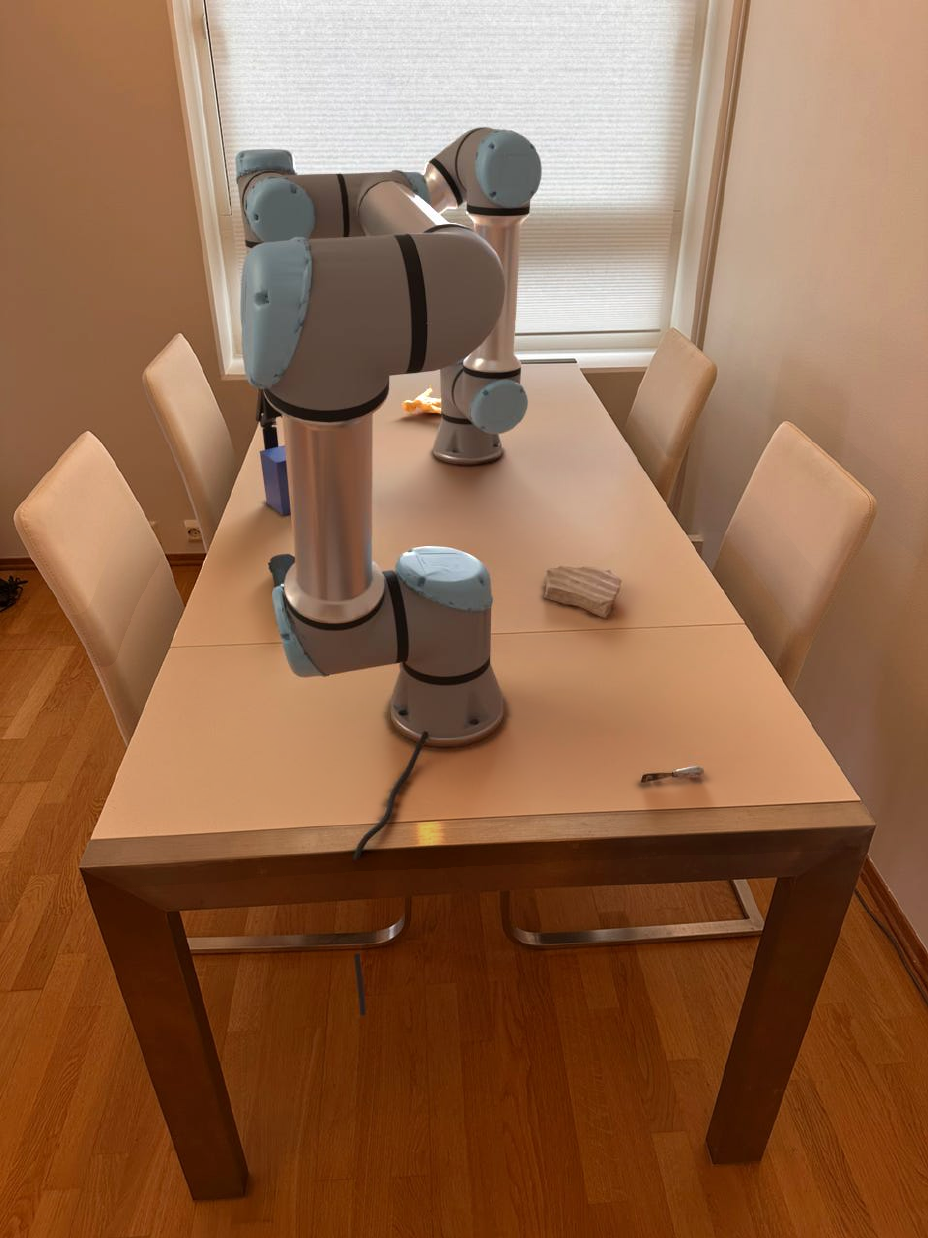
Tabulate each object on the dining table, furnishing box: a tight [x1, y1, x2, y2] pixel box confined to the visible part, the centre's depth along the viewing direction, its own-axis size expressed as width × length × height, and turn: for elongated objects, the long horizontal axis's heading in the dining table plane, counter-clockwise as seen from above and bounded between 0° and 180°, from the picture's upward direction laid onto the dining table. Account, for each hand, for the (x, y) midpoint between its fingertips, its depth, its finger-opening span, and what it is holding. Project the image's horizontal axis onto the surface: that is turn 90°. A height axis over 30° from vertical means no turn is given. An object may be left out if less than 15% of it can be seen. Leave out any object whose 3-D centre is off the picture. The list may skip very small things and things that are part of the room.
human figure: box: [402, 385, 441, 415], centre depth 225 cm, size 20×20×4 cm
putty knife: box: [640, 765, 705, 784], centre depth 109 cm, size 1×8×2 cm, turn 103°
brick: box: [259, 444, 291, 516], centre depth 176 cm, size 8×7×11 cm
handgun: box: [267, 553, 295, 588], centre depth 148 cm, size 3×18×12 cm
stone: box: [544, 565, 622, 619], centre depth 147 cm, size 13×12×2 cm
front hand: (294, 429), depth 132 cm, fingers open, 13 cm apart
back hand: (288, 470), depth 175 cm, fingers open, 13 cm apart
